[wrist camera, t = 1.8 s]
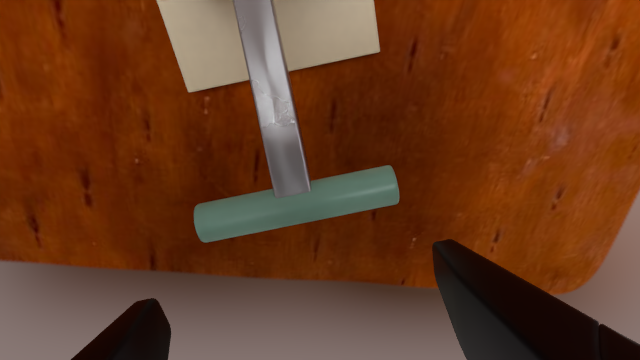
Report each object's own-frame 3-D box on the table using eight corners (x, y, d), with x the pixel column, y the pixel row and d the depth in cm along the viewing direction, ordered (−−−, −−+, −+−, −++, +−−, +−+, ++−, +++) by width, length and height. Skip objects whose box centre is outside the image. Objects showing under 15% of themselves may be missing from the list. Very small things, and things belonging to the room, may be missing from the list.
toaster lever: (392, 198, 13) (406, 209, 11) (215, 234, 14) (191, 252, 11) (324, -146, 13) (324, -215, 10) (138, -104, 13) (95, -162, 10)
